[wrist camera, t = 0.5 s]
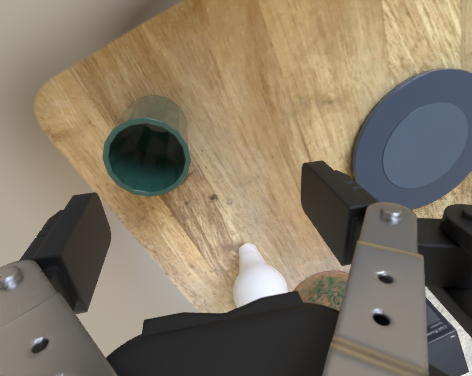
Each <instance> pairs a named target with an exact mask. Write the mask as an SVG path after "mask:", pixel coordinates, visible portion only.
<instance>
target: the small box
mask: <svg viewBox="0 0 472 376" xmlns="http://www.w3.org/2000/svg"><path fill="white" fill-rule="evenodd" d="M425 298H426V297H425ZM426 322H427V347H428V363H430V364H431V365H433V366H435V367H436V368H438V369H440V370H442V371H443V372H445V373H447V374H448V375H450V376H461V375H463V374H465V373H467V372H469V370H468V367H467V363H466V360H465V357H464V353H463V350H462V347H461V344H460V340H459V337H458V334H457V331H456V329H455V328H454V327H453V326H452V325H451V324H450V323H449V322H448V321H447V319H446V318H445V317H444V316H443V315H442V314H441V313H440V312H439V311H438V310H437V309H436V308H435V307H434V306H433V304H432V303H431V302H430V301H429V300H428V299H427V298H426Z"/></svg>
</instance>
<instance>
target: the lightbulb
mask: <svg viewBox="0 0 472 376" xmlns="http://www.w3.org/2000/svg"><path fill="white" fill-rule="evenodd" d="M238 253H239V274H238V276H237V278H236V281H235V284H234V288H233V297H234V301H235V304H236V306H237V308H238V307H241V306H243V305H245V304H248V303H250V302H252V301H254V300H257V299H259V298H261V297H266V296H271V295H277V294H282V293H287V292H288V289H287V284H286V282H285V279H284V278H283V276H282V275H281V274H280V273H279V272H278V271H277V270H276V269H274V268H273V267H271V266H270V265H268V264H266V263H265V261H264V260H263V257H262V256H261V255H260V254H259V252H258V250H257V248H256V246H255V245H253V244H250V243H247V244H244V245H242V246H241V247H240V248H239V251H238Z"/></svg>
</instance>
